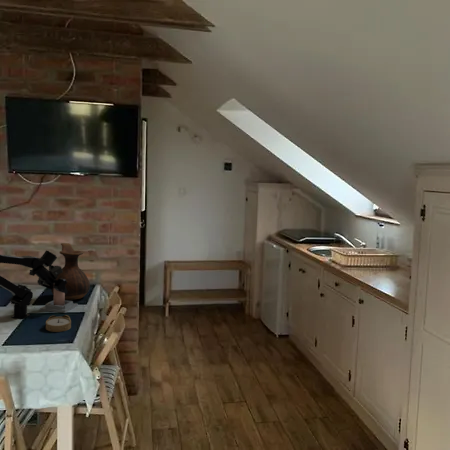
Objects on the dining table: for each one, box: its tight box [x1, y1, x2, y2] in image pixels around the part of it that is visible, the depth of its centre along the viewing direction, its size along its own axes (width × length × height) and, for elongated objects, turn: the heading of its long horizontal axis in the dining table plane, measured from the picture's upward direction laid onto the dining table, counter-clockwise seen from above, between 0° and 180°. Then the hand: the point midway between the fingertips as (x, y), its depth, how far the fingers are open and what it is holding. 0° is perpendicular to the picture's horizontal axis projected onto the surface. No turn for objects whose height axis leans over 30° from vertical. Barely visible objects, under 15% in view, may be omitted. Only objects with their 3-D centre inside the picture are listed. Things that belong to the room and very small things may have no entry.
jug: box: [50, 242, 91, 301], centre depth 287 cm, size 22×22×30 cm
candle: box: [53, 289, 66, 306], centre depth 266 cm, size 6×6×14 cm
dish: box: [39, 299, 79, 314], centre depth 267 cm, size 14×14×3 cm
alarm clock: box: [45, 314, 72, 333], centre depth 236 cm, size 11×5×15 cm
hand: (61, 291), depth 267 cm, fingers open, 9 cm apart
